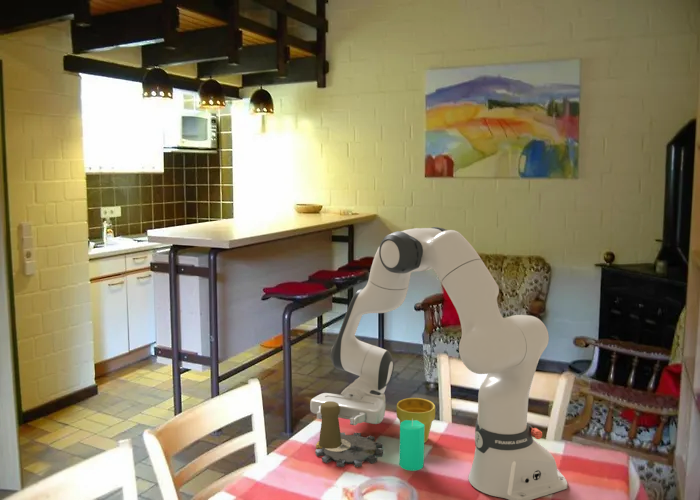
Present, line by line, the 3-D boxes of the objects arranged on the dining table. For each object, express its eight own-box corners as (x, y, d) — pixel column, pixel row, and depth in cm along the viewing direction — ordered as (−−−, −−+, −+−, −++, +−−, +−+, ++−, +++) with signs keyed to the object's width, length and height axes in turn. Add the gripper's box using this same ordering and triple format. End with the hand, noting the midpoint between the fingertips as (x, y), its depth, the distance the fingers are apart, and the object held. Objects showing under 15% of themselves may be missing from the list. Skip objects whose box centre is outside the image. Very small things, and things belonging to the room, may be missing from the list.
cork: (334, 450, 154) (334, 409, 152) (314, 445, 156) (314, 405, 155) (345, 441, 159) (345, 401, 157) (325, 436, 162) (325, 397, 160)
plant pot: (407, 451, 156) (408, 415, 155) (389, 434, 165) (389, 400, 164) (441, 443, 160) (442, 408, 159) (422, 428, 170) (422, 395, 168)
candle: (424, 470, 146) (426, 423, 144) (400, 470, 146) (400, 423, 144) (422, 459, 152) (423, 413, 150) (398, 458, 152) (399, 413, 150)
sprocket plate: (371, 432, 167) (371, 428, 167) (392, 462, 150) (392, 457, 150) (309, 439, 162) (309, 435, 162) (323, 471, 145) (323, 466, 145)
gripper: (322, 384, 171) (299, 401, 159) (390, 394, 163) (372, 413, 151) (322, 405, 172) (299, 424, 159) (390, 417, 164) (372, 437, 151)
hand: (335, 419), depth 155 cm, fingers open, 8 cm apart
